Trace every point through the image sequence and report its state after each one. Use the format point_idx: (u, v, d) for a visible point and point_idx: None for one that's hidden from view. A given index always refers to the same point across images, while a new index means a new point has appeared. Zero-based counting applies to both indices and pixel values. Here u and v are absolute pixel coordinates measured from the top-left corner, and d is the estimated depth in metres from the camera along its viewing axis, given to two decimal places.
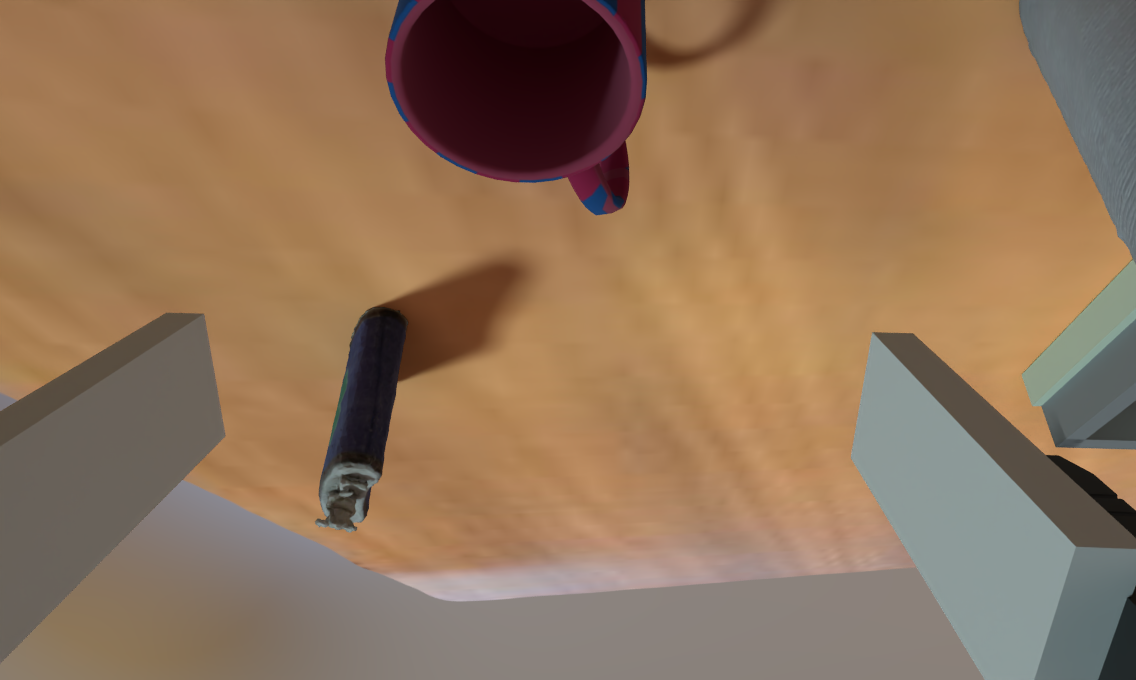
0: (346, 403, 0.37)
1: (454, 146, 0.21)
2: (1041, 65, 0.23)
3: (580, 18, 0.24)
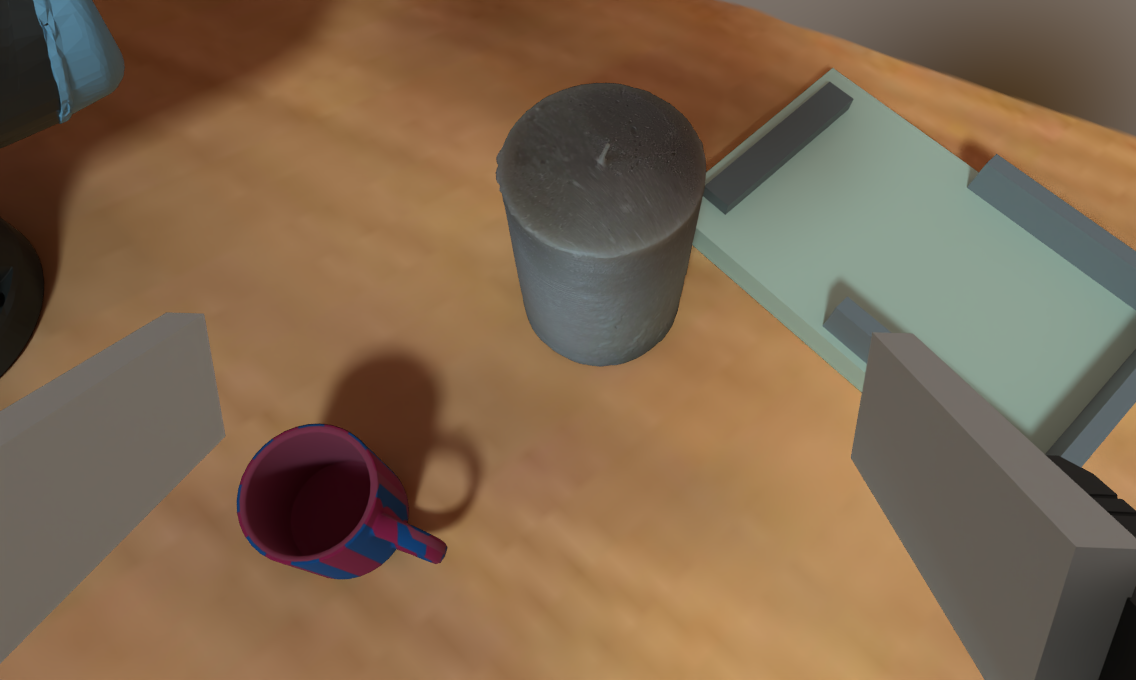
0: None
1: None
2: (582, 349, 0.42)
3: None
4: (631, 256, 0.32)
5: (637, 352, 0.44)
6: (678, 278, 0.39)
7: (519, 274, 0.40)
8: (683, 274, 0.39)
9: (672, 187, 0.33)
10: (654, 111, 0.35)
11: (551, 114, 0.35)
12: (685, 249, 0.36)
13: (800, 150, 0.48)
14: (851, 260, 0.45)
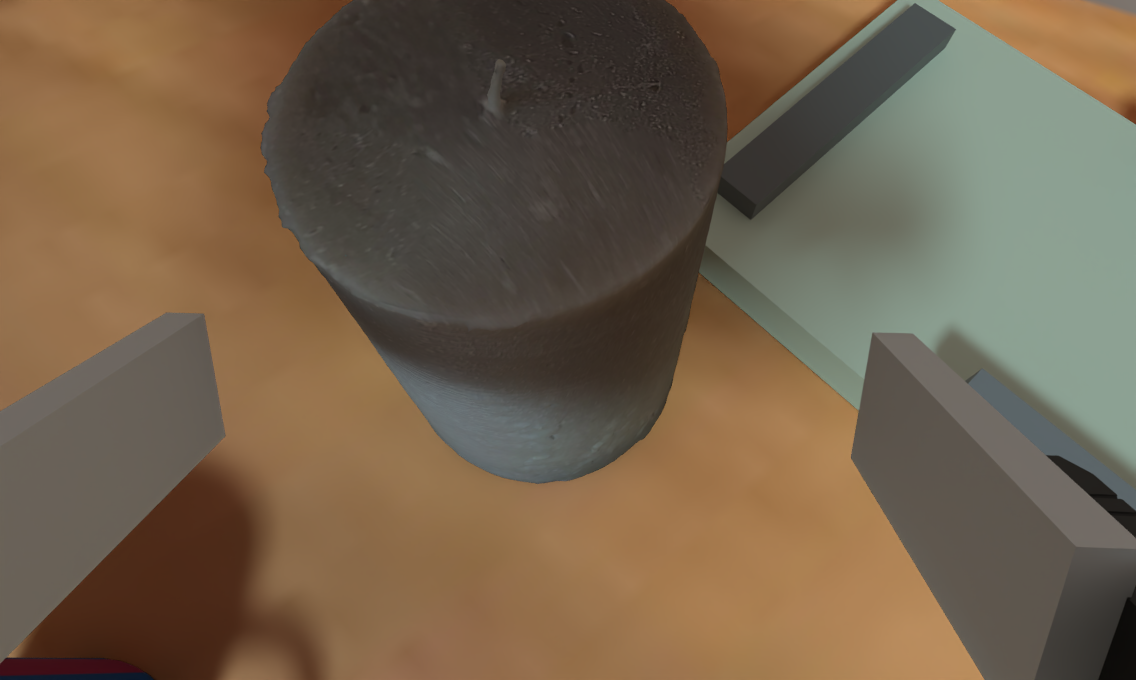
0: None
1: None
2: (501, 463, 0.24)
3: None
4: (555, 322, 0.14)
5: (601, 461, 0.25)
6: (670, 345, 0.20)
7: None
8: (680, 335, 0.21)
9: (651, 161, 0.14)
10: (613, 1, 0.16)
11: (393, 11, 0.16)
12: (683, 294, 0.17)
13: (871, 113, 0.29)
14: (970, 296, 0.26)
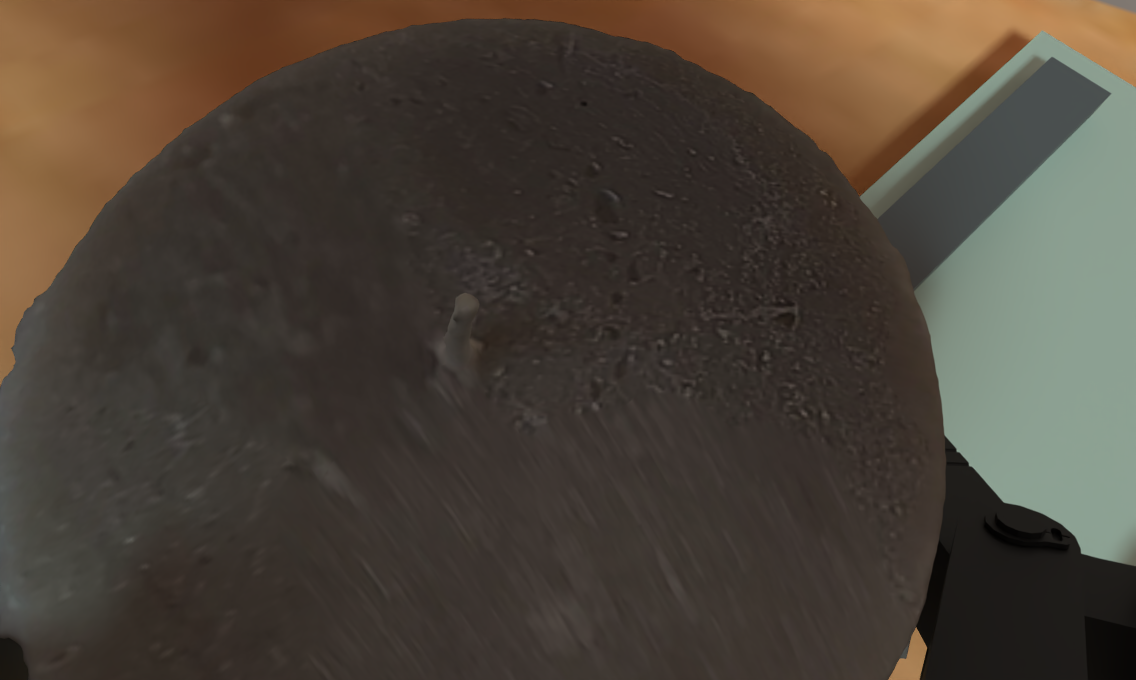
0: None
1: None
2: None
3: None
4: None
5: None
6: None
7: None
8: None
9: (793, 500, 0.07)
10: (693, 126, 0.09)
11: (275, 141, 0.09)
12: None
13: (998, 208, 0.22)
14: None
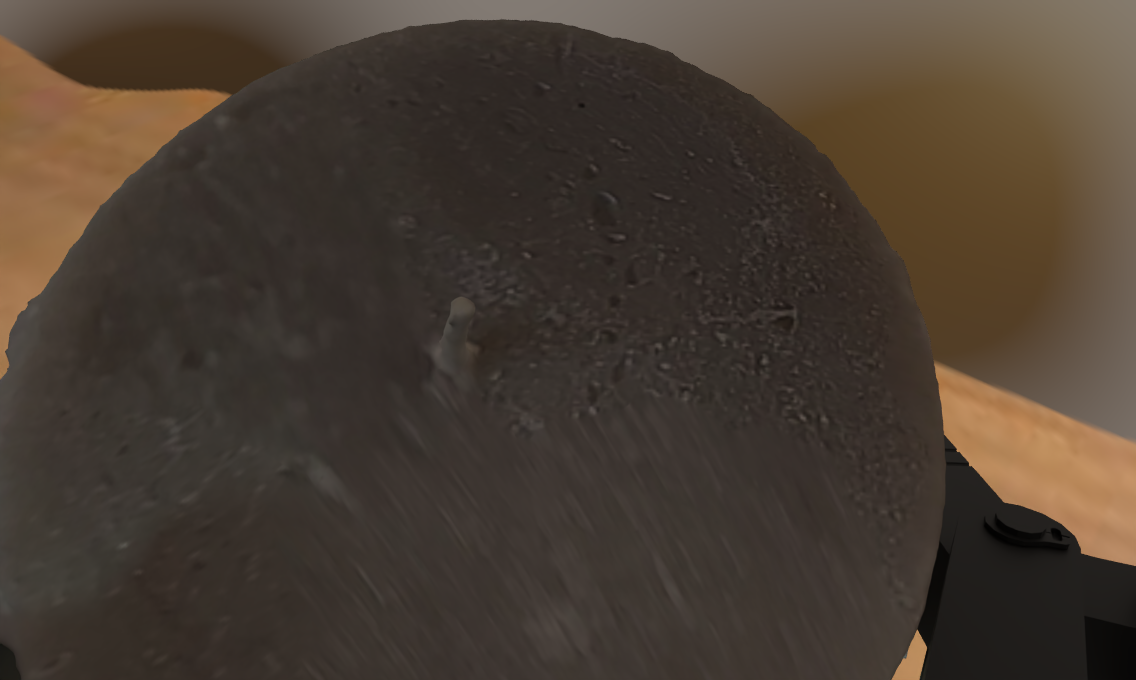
0: None
1: None
2: None
3: None
4: None
5: None
6: None
7: None
8: None
9: (791, 506, 0.07)
10: (691, 128, 0.08)
11: (271, 142, 0.09)
12: None
13: None
14: None
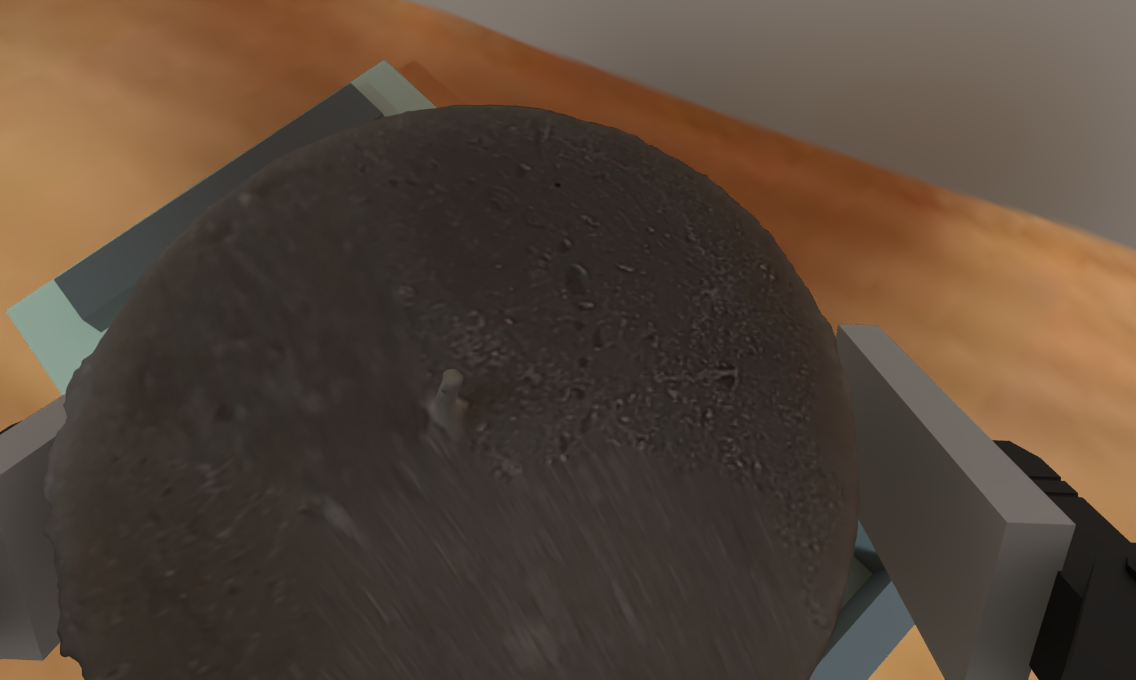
0: None
1: None
2: None
3: None
4: None
5: None
6: None
7: None
8: None
9: (728, 539, 0.08)
10: (652, 206, 0.10)
11: (288, 218, 0.10)
12: None
13: None
14: None
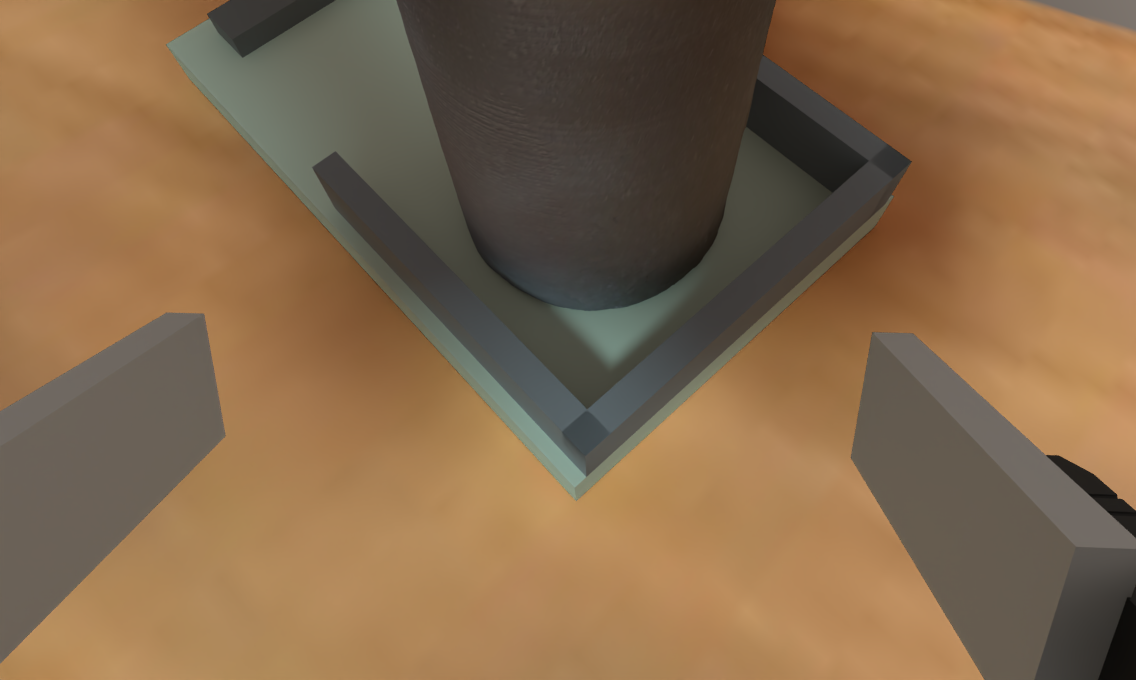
0: None
1: None
2: (557, 275, 0.24)
3: None
4: None
5: (654, 283, 0.25)
6: (735, 120, 0.20)
7: (435, 126, 0.21)
8: (743, 120, 0.21)
9: None
10: None
11: None
12: (757, 34, 0.17)
13: None
14: (407, 116, 0.30)
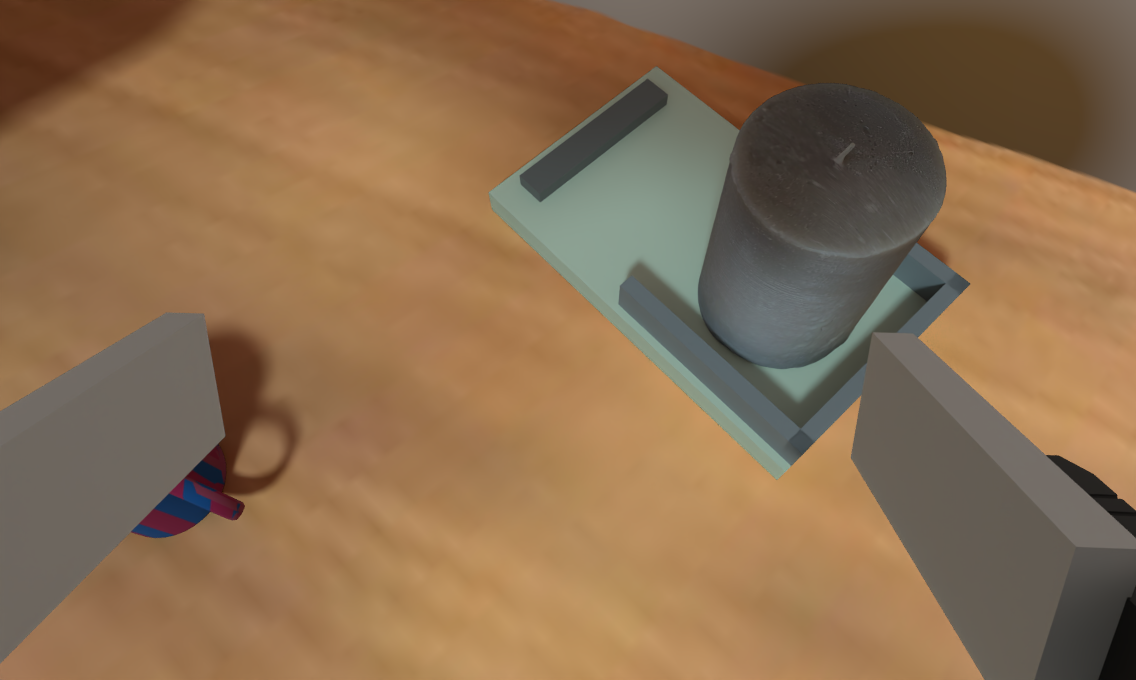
0: None
1: None
2: (773, 352, 0.42)
3: None
4: (879, 255, 0.32)
5: (823, 354, 0.43)
6: None
7: (720, 276, 0.40)
8: None
9: (915, 186, 0.33)
10: (884, 111, 0.35)
11: (779, 114, 0.35)
12: None
13: (616, 142, 0.51)
14: (652, 243, 0.48)
